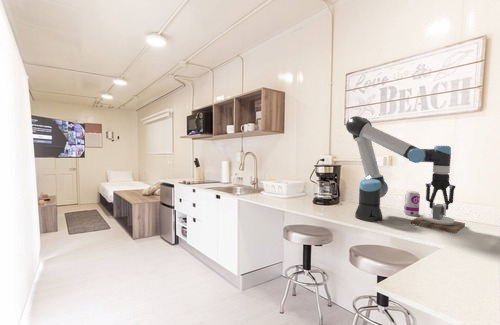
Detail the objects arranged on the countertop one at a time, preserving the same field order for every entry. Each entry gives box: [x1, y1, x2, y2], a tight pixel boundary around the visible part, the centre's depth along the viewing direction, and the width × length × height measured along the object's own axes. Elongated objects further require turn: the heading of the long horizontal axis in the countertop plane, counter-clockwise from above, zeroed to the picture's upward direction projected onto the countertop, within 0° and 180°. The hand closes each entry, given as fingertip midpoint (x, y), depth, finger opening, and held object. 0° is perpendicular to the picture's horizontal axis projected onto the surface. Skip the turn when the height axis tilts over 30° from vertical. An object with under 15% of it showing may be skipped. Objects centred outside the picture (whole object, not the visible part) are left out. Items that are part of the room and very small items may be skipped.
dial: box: [422, 203, 455, 225], centre depth 141 cm, size 14×14×9 cm
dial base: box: [410, 215, 466, 234], centre depth 141 cm, size 20×20×2 cm
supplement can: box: [403, 190, 421, 217], centre depth 164 cm, size 8×8×15 cm
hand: (438, 214), depth 141 cm, fingers closed on dial, 5 cm apart
